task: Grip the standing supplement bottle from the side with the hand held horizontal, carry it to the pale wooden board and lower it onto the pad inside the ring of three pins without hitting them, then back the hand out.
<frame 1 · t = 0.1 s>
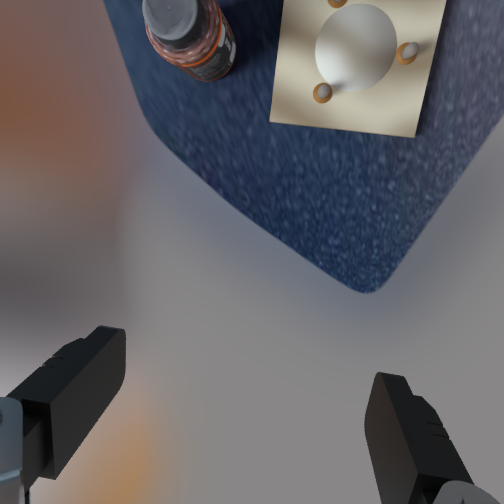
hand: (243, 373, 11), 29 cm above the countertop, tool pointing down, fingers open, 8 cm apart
supplement bottle: (208, 50, 36), on the countertop
pin board: (352, 52, 34), on the countertop
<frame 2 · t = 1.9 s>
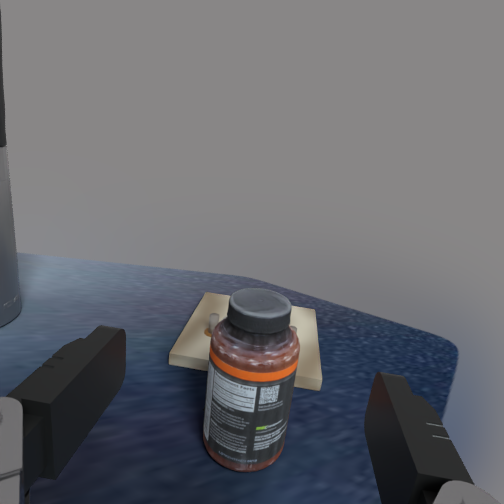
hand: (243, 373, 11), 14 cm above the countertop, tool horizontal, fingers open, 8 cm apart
supplement bottle: (242, 442, 26), on the countertop
pin board: (252, 337, 40), on the countertop
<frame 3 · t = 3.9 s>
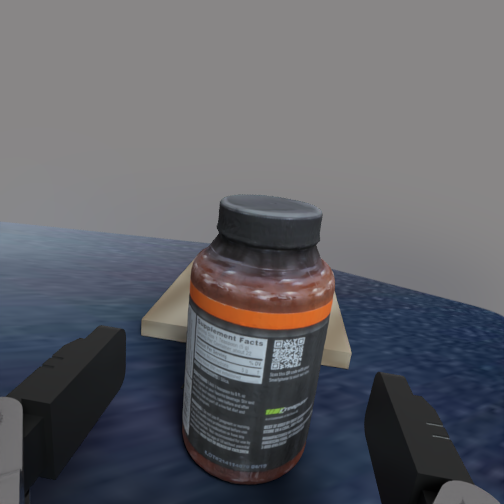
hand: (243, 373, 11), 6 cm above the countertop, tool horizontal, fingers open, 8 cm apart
supplement bottle: (242, 438, 17), on the countertop
pin board: (253, 306, 31), on the countertop
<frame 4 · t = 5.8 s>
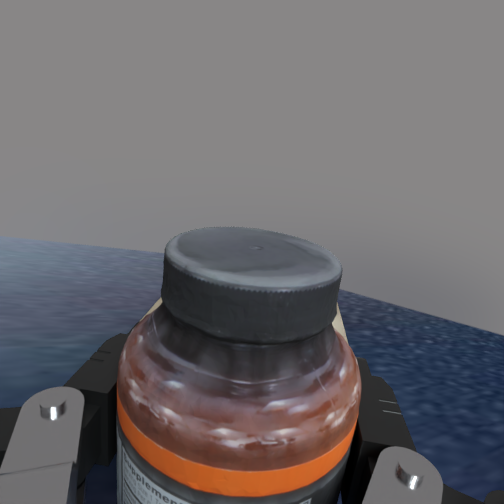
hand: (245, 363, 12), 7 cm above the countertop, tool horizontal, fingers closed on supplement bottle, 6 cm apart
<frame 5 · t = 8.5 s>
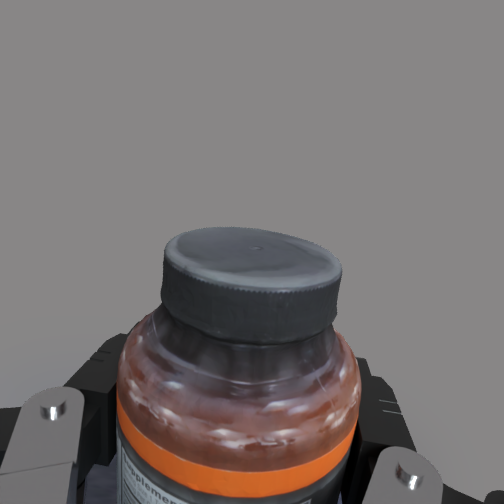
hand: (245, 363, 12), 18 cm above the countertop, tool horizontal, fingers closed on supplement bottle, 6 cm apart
when the fingers open (8 cm above the countertop, at t = 11.3 s): supplement bottle stays where it is, resting on pin board.
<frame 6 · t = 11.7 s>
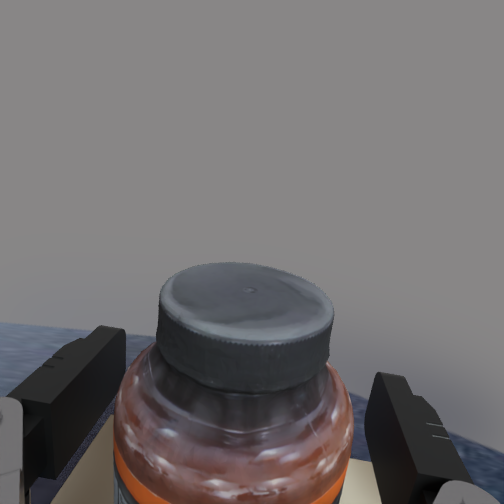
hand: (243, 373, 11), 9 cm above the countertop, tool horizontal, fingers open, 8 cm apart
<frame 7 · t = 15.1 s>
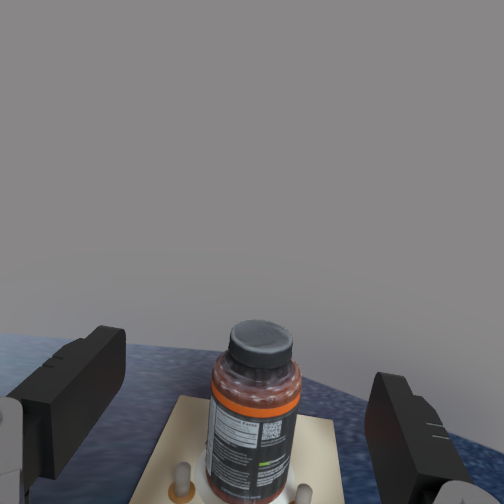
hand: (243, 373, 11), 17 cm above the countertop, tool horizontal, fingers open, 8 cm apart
supplement bottle: (245, 475, 26), point 1 cm above the countertop, touching pin board
pin board: (243, 485, 26), on the countertop
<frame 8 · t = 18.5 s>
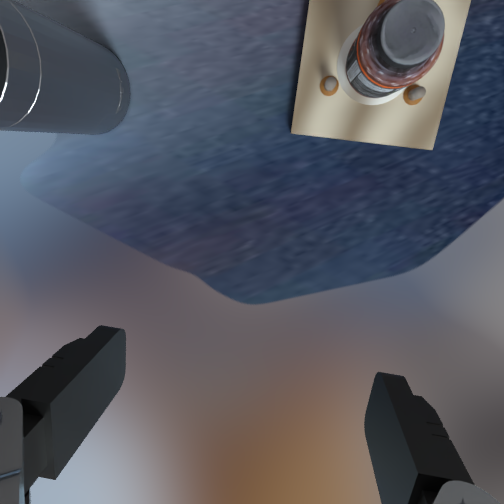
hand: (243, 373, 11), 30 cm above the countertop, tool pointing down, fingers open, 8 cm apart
supplement bottle: (375, 65, 34), point 1 cm above the countertop, touching pin board
pin board: (373, 66, 35), on the countertop
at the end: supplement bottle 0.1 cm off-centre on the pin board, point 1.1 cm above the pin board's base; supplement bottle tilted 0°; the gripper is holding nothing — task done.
